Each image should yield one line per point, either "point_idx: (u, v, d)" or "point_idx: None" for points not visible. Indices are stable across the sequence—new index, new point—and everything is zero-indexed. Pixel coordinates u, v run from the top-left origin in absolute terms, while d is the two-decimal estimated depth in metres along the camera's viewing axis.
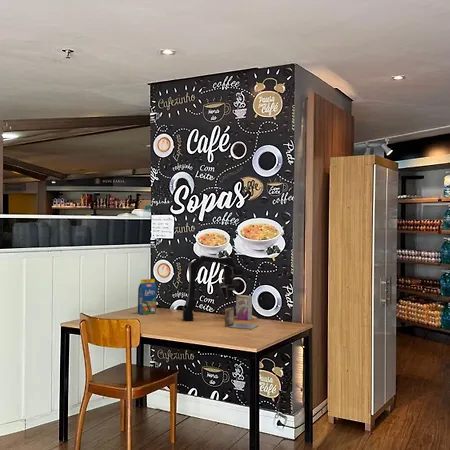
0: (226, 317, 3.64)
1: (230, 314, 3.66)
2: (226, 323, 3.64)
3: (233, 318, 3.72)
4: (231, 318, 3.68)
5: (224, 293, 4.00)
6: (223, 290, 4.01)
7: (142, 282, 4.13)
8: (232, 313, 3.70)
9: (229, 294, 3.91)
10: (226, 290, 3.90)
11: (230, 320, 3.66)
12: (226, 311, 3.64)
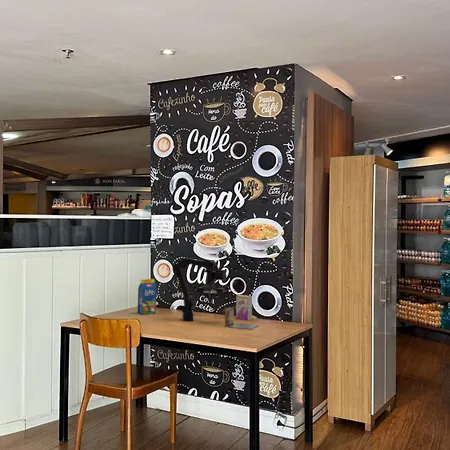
0: (226, 317, 3.64)
1: (230, 314, 3.66)
2: (226, 323, 3.64)
3: (233, 318, 3.72)
4: (231, 318, 3.68)
5: None
6: None
7: (142, 282, 4.13)
8: (232, 313, 3.70)
9: None
10: (209, 293, 3.83)
11: (230, 320, 3.66)
12: (226, 311, 3.64)
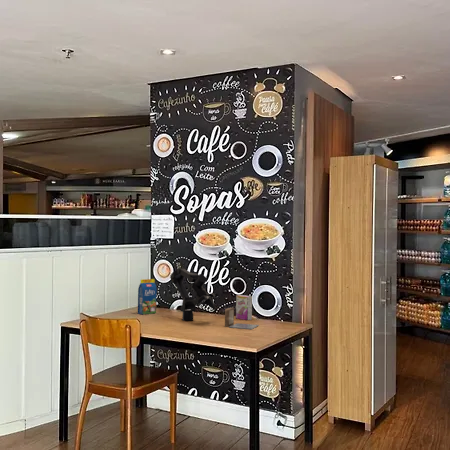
0: (226, 317, 3.64)
1: (230, 314, 3.66)
2: (226, 323, 3.64)
3: (233, 318, 3.72)
4: (231, 318, 3.68)
5: None
6: None
7: (142, 282, 4.13)
8: (232, 313, 3.70)
9: None
10: (212, 298, 3.75)
11: (230, 320, 3.66)
12: (226, 311, 3.64)
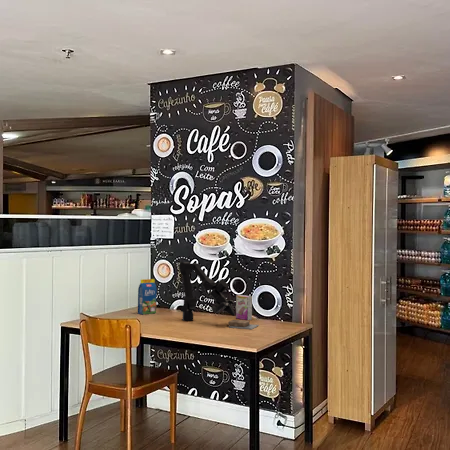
0: (237, 324, 3.61)
1: None
2: (231, 323, 3.63)
3: None
4: None
5: None
6: None
7: (142, 282, 4.13)
8: None
9: None
10: (231, 305, 3.69)
11: None
12: (242, 324, 3.60)
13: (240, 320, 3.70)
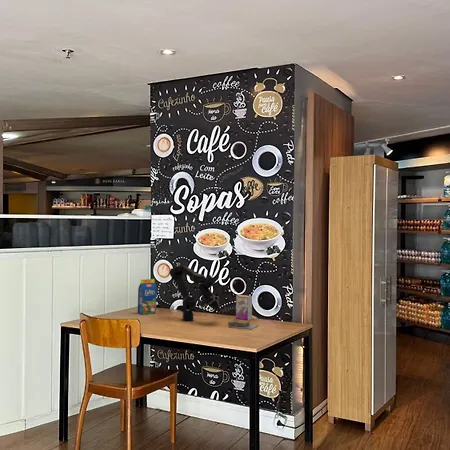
0: (237, 324, 3.61)
1: None
2: (231, 323, 3.63)
3: None
4: None
5: None
6: None
7: (142, 282, 4.13)
8: None
9: None
10: None
11: None
12: (242, 324, 3.60)
13: (240, 320, 3.70)
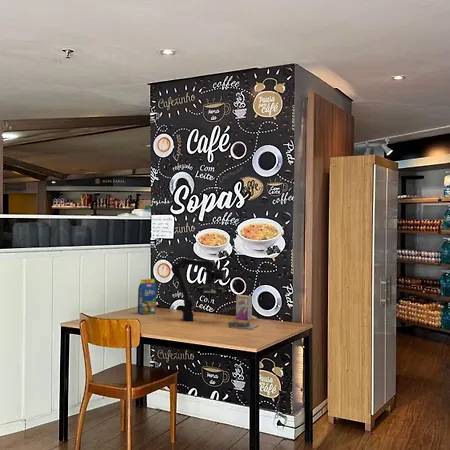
0: (237, 324, 3.61)
1: None
2: (231, 323, 3.63)
3: None
4: None
5: None
6: None
7: (142, 282, 4.13)
8: None
9: None
10: (209, 293, 3.84)
11: None
12: (242, 324, 3.60)
13: (240, 320, 3.70)
